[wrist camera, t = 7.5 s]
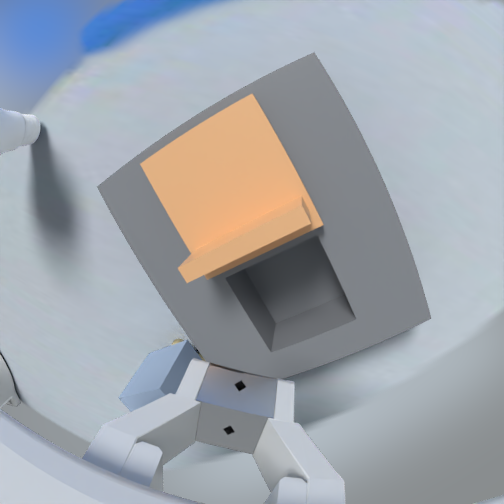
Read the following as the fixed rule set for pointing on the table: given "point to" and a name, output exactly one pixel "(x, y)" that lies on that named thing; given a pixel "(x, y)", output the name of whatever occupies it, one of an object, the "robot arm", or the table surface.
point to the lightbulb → (17, 130)
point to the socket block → (287, 244)
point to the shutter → (230, 190)
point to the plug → (159, 374)
